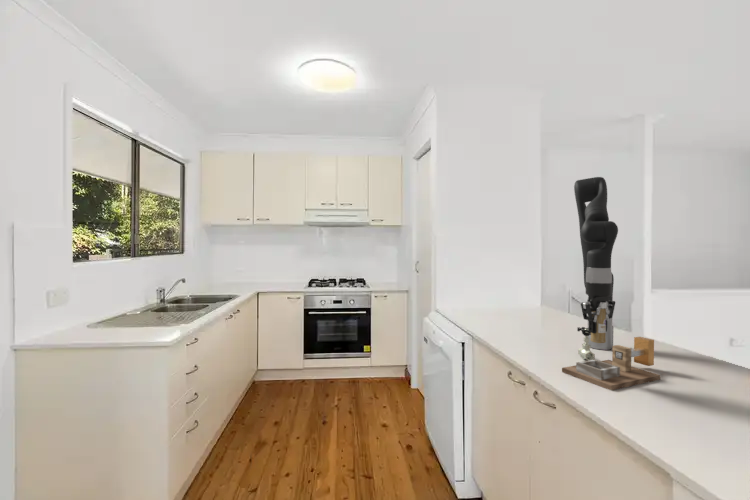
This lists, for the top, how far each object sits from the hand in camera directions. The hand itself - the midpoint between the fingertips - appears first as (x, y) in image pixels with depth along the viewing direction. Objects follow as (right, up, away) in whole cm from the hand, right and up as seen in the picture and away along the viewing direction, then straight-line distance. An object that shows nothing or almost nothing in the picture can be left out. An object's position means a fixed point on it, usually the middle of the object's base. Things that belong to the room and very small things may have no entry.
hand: (597, 331), depth 127 cm
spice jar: (0, -3, 0) cm, 3 cm away
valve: (+8, -15, +21) cm, 27 cm away
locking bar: (+16, -13, +7) cm, 22 cm away
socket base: (+6, -15, +3) cm, 17 cm away
